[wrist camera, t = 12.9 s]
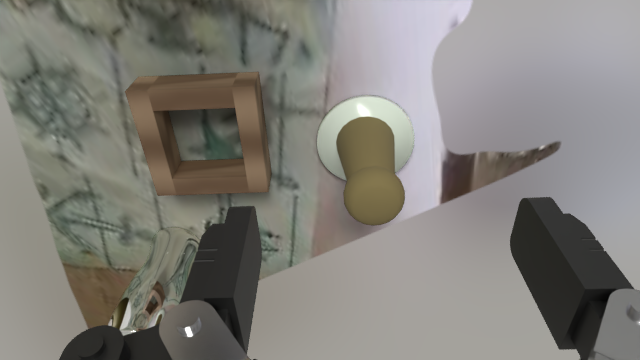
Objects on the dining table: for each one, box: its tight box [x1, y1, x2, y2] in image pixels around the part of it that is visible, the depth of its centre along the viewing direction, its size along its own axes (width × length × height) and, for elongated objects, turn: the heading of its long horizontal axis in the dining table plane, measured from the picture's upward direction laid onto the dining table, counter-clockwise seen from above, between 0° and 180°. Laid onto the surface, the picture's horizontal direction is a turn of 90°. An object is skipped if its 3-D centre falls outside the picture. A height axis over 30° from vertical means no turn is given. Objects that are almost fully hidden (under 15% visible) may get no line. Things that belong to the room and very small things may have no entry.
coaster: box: [317, 95, 414, 181], centre depth 46 cm, size 10×10×1 cm
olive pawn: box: [336, 116, 405, 225], centre depth 41 cm, size 6×6×11 cm
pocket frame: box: [125, 72, 272, 196], centre depth 44 cm, size 12×12×4 cm
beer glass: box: [108, 227, 200, 336], centre depth 49 cm, size 7×7×15 cm
